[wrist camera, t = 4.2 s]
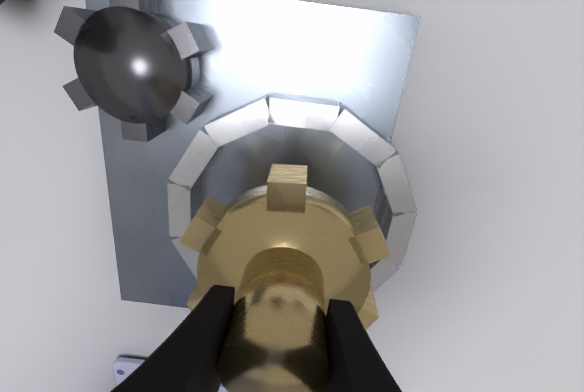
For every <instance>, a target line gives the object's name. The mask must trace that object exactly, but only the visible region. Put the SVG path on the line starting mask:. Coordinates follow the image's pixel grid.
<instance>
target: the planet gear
mask: <svg viewBox="0 0 584 392" xmlns="http://www.w3.org/2000/svg"><path fill="white" fill-rule="evenodd" d="M179 243H181V244H183V245H185V246H187V247H189V248H190V249H192V250H194V251H196V252H198V253H200V254H199V257H198V263H197V278H198V280H197V282H196V284H195V286H194V288H193V291H192V293H191V295H190V297H189V299H188V301H187V306H188V307H189V308H190V309H191V311H192V310H193V309H194V308H195V307H196V306H197V304H198V303H199V302H200V301H201V299H202V298H203V297H204V296H205V294H206V293H207V292H208V290H209V289H210V288H211V287H212V286H213V285H222V286H230V287H235V295H234V308H233V311H232V315H231V318H230V322H229V325H228V329H227V333H226V336H225V340H224V343H223V347H222V350H221V354H220V357H219V361H218V367H217V371H218V376H219V379H220V381H221V383H222V385H223V386H224V388H225V389H226V390H227V391H228V392H323V391H324V390H325V388H326V386H327V384H328V380H329V365H328V348H327V330H326V314H327V309H328V304H329V299H337V300H345V301H350V302H351V303H352V304H353V306H354V308H355V310H356V312H357V314H358V317H359V319H360V321H361V323H362V324H363V326H364V328H365V330H366V329H367V328H368V327H369V326H370V325H371V324H372V323H373V322H374V321H375V320H376V319H377V318H378V317H379V315H378V311H377V307H376V303H375V299H374V295H373V291H372V287H370V282H371V272H370V265H369V264H370V263H373V262H376V261H378V260H381V259H383V258H386V257H389V256H391V254H390V251H389V249H388V246H387V243H386V240H385V238H384V235H383V232H382V230H381V228H380V226H379V224H378V221H377V219H376V217H375V215H374V213H373V211H372V209H371V207H370V205H367V206H364V207H362V208H359V209H357V210H355V211H352V212H350V213H349V211H348V210H347V209H346V208H345V207H344V206H343V205H342V204H340V203H339V202H338V201H337V200H335V199H334V198H332V197H331V196H329V195H327V194H325V193H323V192H322V191H319V190H316V189H314V188H311V187H307V166H305V165H287V164H272V166H271V169H270V173H269V176H268V180H267V185H264V186H260V187H256V188H254V189H251V190H249V191H246V192H245V193H243V194H241V195H239V196H238V197H236V198H235V199H234V200H232V201H231V202H230V203H229V204H228V205H225V204H223V203H221V202H220V201H218V200H216V199H214V198H213V197H211V196H209V195H208V196H207V197H206V199H205V200H204V202H203V204H202V205H201V207H200V208H199V210H198V211H197V213H196V214H195V216H194V218H193V219H192V221H191V223H190V225H189V226H188V228H187V230H186V231H185V233H184V235H183V237H182V238H181V240H180V242H179Z"/></svg>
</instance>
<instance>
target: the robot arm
mask: <svg viewBox="0 0 584 392" xmlns="http://www.w3.org/2000/svg"><path fill="white" fill-rule="evenodd" d="M234 295H235V287H230V286H222V285H213V286H212V287H211V288H210V289H209V290H208V292H207V293H206V294H205V296H204V297H203V298H202V299H201V301H200V302H199V303H198V304H197V306H196V307H195V308H194V309H193V310H192V311H191V313H190V314H189V315H188V316H187V317H186V318H185V320H184V321H183V322H182V323H181V324H180V325H179V326H178V327H177V328H176V329H175V331H174V332H173V333H172V334H171V335H170V336H169V337H168V338H167V339H166V340H165V341H164V342H163V343H162V344H161V345H160V346H159V347H158V348H157V349H156V350H155V351H154V352H153V353H152V354H151V355H150V356H149V357H148V358H147V359H146V360H140V359H132V358H124V357H119V358H117V359H116V360H115V362H114V363H113V369H114V376H115V383H116V387H115V388H114V389H113V390H112V391H111V392H228V391H227V390H226V389H225V388H224V386H223V385H222V383H221V381H220V379H219V376H218V371H217V367H218V361H219V357H220V354H221V350H222V347H223V343H224V340H225V336H226V333H227V329H228V325H229V322H230V318H231V315H232V311H233V308H234ZM326 330H327V348H328V365H329V380H328V384H327V386H326V388H325V390H324V391H323V392H402V391H401V389H400V388H399V386H398V385H397V383H396V381H395V380H394V378H393V377H392V375H391V374H390V372H389V370H388V369H387V367H386V365H385V364H384V362H383V360H382V359H381V357H380V355H379V354H378V352H377V350H376V348H375V347H374V345H373V343H372V341H371V340H370V338H369V336H368V334H367V332H366V330H365V328H364V326H363V324H362V323H361V321H360V319H359V317H358V314H357V312H356V310H355V308H354V306H353V304H352V303H351V302H350V301H345V300H337V299H329V304H328V309H327V314H326Z"/></svg>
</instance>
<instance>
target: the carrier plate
mask: <svg viewBox="0 0 584 392" xmlns="http://www.w3.org/2000/svg"><path fill="white" fill-rule="evenodd" d="M420 18H421V17H420V16H412V15H404V14H396V13H389V12H381V11H373V10H365V9H357V8H350V7H342V6H334V5H326V4H318V3H311V2H303V1H295V0H86V9H82V8H75V7H68V6H64V7H63V10H62V13H61V15H60V18H59V20H58V23H57V25H56V28H55V31H54V32H55V33H56V34H57V35H59V36H60V37H62V38H63V39H65V40H66V41H67V42H69V43H70V44H72V45H73V46H74V63H75V68H76V72H77V75H78V78H77V79H75V80H73V81H71V82H69V83H67V84H65V85H64V86H63V88H64V89H65V91H66V92H67V94H68V95H69V97H70V98H71V100H72V101H73V103H74V104H75V106H76V107H77V109H78V110H79V111H81V110H84V109H87V108H91V107H94V106H98V109H99V117H100V125H101V134H102V142H103V150H104V159H105V167H106V176H107V184H108V192H109V201H110V209H111V217H112V226H113V234H114V242H115V251H116V259H117V267H118V276H119V284H120V292H121V300H127V301H135V302H143V303H152V304H160V305H168V306H176V307H185V308H189V307H188V306H187V301H188V299H189V297H190V295H191V293H192V291H193V288H194V286H195V284H196V282H197V280H198V278H197V263H198V257H199V254H200V253H198V252H196V251H194V250H192V249H190V248H189V247H187V246H185V245H183V244H181V243H179V242H180V240H181V238H182V237H183V235H184V233H185V231H186V230H187V228H188V226H189V225H190V223H191V221H192V219H193V218H194V216H195V214H196V213H197V211H198V210H199V208H200V207H201V205H202V204H203V202H204V200H205V199H206V197H207V196H208V195H209V196H211V197H213V198H214V199H216V200H218V201H220V202H221V203H223V204H225V205H228V204H229V203H230V202H231V201H232V200H234V199H235V198H236V197H238V196H239V195H241V194H243V193H245V192H246V191H249V190H251V189H254V188H256V187H260V186H264V185H267V180H268V176H269V173H270V169H271V166H272V164H287V165H305V166H307V187H311V188H314V189H316V190H319V191H322V192H323V193H325V194H327V195H329V196H331V197H332V198H334V199H335V200H337V201H338V202H339V203H340V204H342V205H343V206H344V207H345V208H346V209H347V210H348V211H349V213H350V212H352V211H355V210H357V209H359V208H362V207H364V206H367V205H370V207H371V209H372V211H373V212H374V207H375V203H376V199H377V195H378V191H379V187H380V183H381V186H382V189H383V191H384V194H385V197H386V200H387V202H386V206H385V210H384V214H383V217H382V221H381V225H380V228H381V230H382V232H383V235H384V238H385V240H386V243H387V246H388V249H389V251H390V254H391V256H389V257H386V258H383V259H381V260H378V261H376V262H373V263H370V264H369V265H370V272H371V282H370V287H372V291H373V292H374V291H375V290H376V289H377V288H378V287H379V286H380V285H381V284H382V283H383V282H385V281H386V280H387V279H388V278H389V277H390V276H391V275H392V274H393V273H394V272H396V271H397V270H398V269H399V267H398V265H397V264H402V261H403V258H404V255H405V251H406V248H407V245H408V241H409V238H410V235H411V231H412V228H413V225H414V222H415V218H416V215H417V214H416V212H415V211H414V210H416V205H415V202H414V199H413V196H412V193H411V190H410V187H409V183H408V180H407V177H406V174H405V171H404V168H403V165H402V161H401V158H400V155H399V154H398V152H397V151H396V149H395V148H394V147H393V145H392V144H391V143H390V141H391V137H392V133H393V129H394V125H395V121H396V117H397V113H398V108H399V104H400V100H401V96H402V92H403V88H404V84H405V80H406V75H407V71H408V67H409V63H410V59H411V55H412V51H413V47H414V42H415V38H416V34H417V30H418V26H419V22H420Z"/></svg>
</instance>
